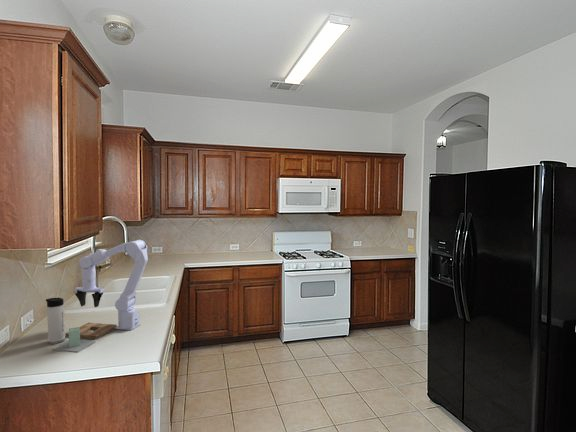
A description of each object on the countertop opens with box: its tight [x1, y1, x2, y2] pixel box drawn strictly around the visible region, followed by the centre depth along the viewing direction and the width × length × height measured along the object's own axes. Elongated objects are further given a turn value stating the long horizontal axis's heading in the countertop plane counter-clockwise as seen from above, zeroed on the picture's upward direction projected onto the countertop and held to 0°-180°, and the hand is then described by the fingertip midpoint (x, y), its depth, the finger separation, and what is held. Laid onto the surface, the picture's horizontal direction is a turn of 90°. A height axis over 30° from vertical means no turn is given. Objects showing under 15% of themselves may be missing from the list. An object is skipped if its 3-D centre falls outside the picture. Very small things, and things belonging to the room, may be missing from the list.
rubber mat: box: [52, 339, 96, 353], centre depth 150 cm, size 12×10×1 cm
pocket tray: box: [65, 322, 118, 340], centre depth 165 cm, size 16×14×2 cm
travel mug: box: [45, 297, 66, 345], centre depth 154 cm, size 6×7×20 cm
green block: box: [68, 326, 81, 348], centre depth 150 cm, size 4×4×7 cm
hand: (89, 306), depth 171 cm, fingers open, 7 cm apart
